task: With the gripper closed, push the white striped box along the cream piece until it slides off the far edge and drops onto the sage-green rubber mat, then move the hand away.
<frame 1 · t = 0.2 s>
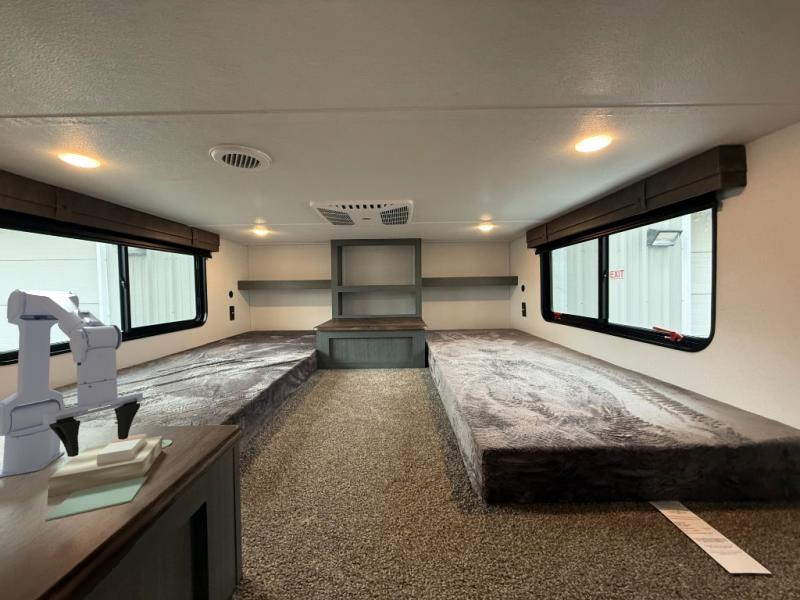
hand: (99, 446, 57), 10 cm above the cabinet, tool pointing down, fingers open, 7 cm apart
sign: (181, 441, 83), on the cabinet
mat: (102, 496, 57), on the cabinet
cream piece: (113, 470, 67), on the cabinet
white striped box: (123, 451, 68), point 4 cm above the cabinet, touching cream piece
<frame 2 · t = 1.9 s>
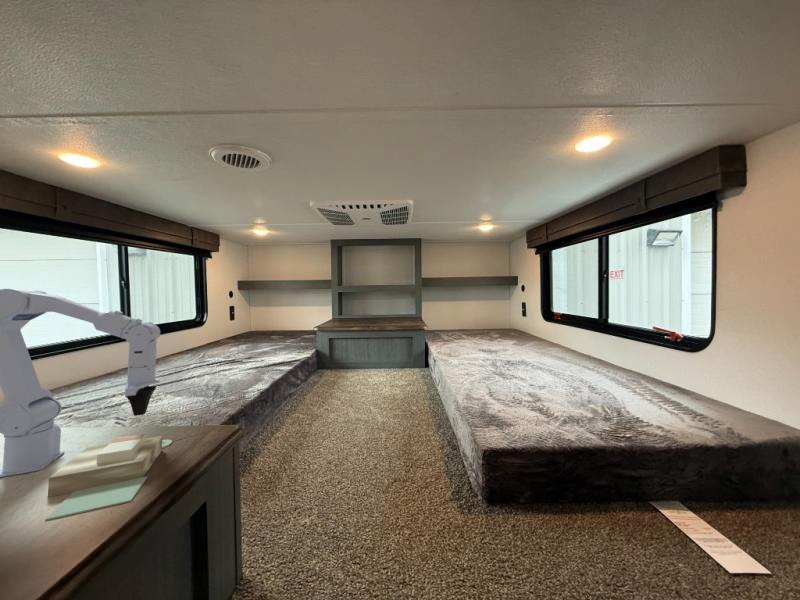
hand: (139, 414, 77), 10 cm above the cabinet, tool pointing down, fingers closed
nothing on the cabinet moved.
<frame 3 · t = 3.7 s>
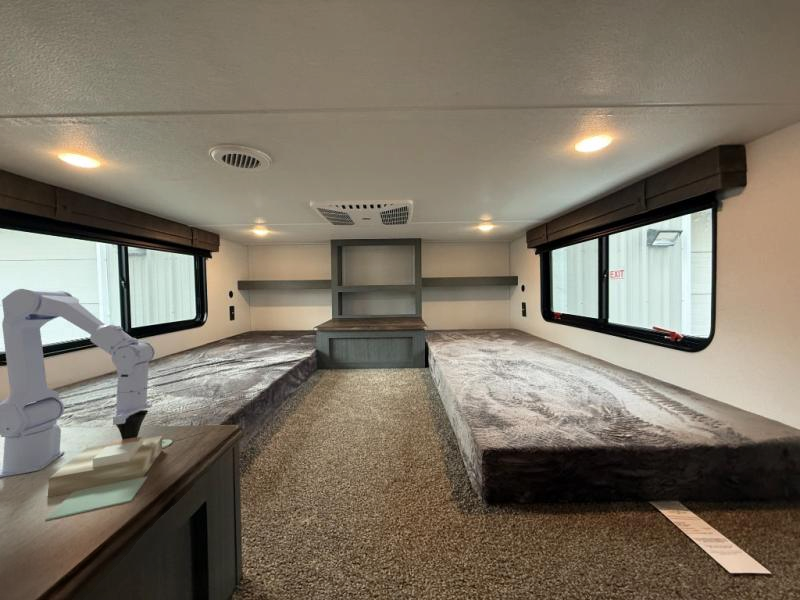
hand: (129, 442, 71), 5 cm above the cabinet, tool pointing down, fingers closed
white striped box: (120, 454, 66), point 4 cm above the cabinet, touching cream piece
everything else where it was.
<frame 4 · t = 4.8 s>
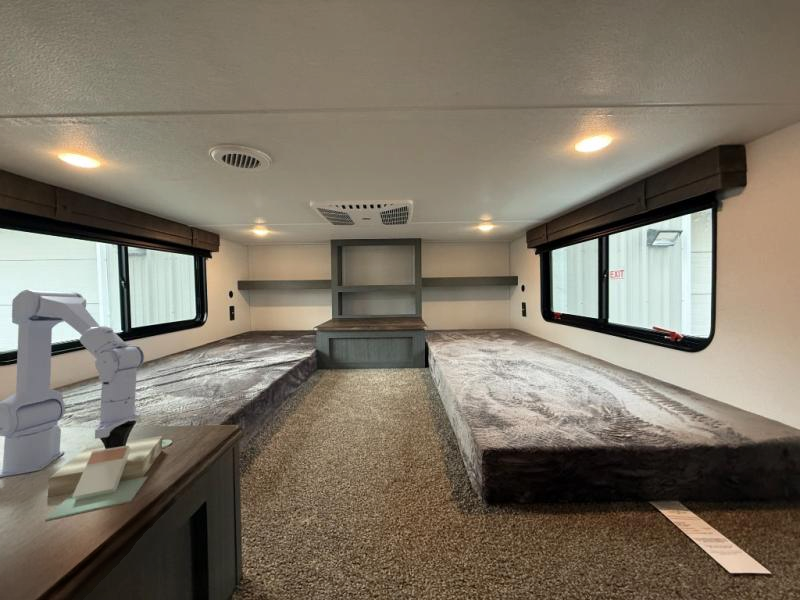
hand: (115, 456, 64), 5 cm above the cabinet, tool pointing down, fingers closed
white striped box: (105, 472, 60), point 3 cm above the cabinet, tilted 41°, touching gripper, mat
everything else where it was.
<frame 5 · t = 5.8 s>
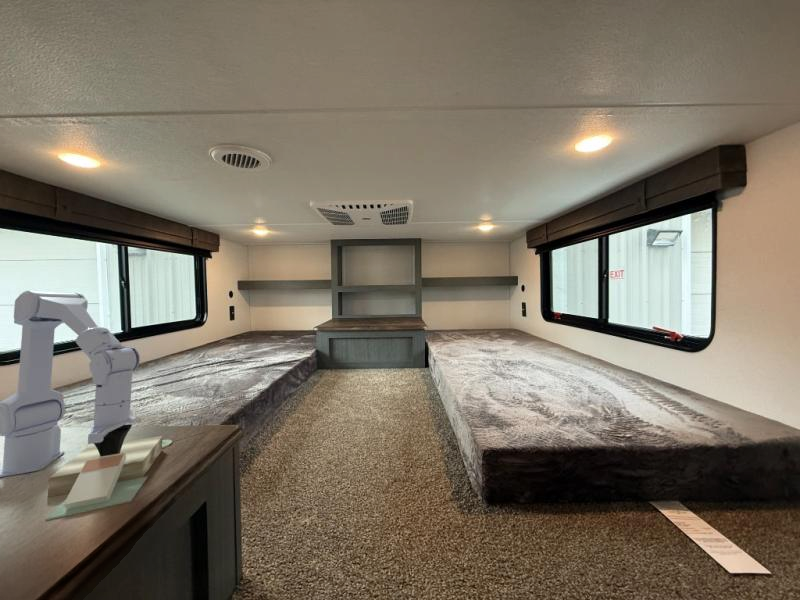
hand: (110, 461, 62), 5 cm above the cabinet, tool pointing down, fingers closed
white striped box: (99, 481, 58), point 3 cm above the cabinet, tilted 34°, touching gripper, mat
everything else where it was.
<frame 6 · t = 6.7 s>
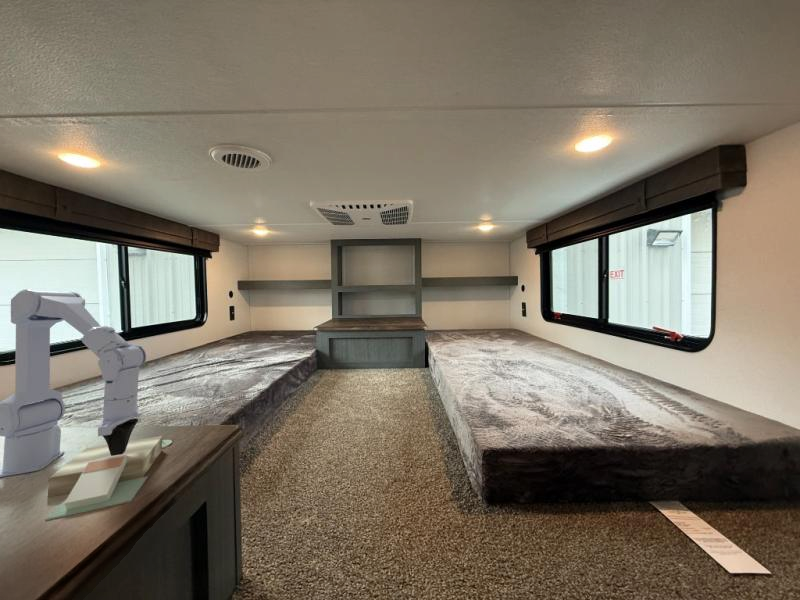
hand: (118, 453, 66), 5 cm above the cabinet, tool pointing down, fingers closed
white striped box: (99, 483, 58), point 2 cm above the cabinet, tilted 27°, touching cream piece, mat
everything else where it was.
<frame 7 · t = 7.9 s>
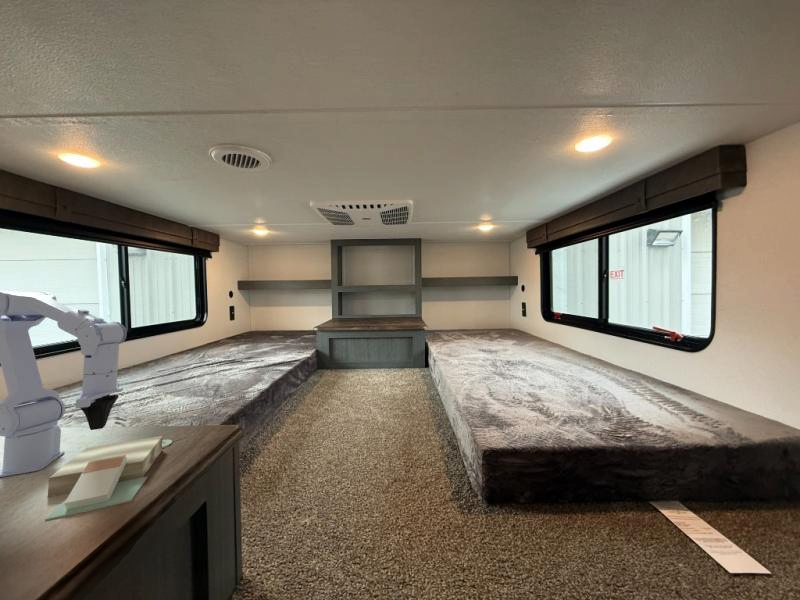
hand: (97, 428, 66), 10 cm above the cabinet, tool pointing down, fingers closed
nothing on the cabinet moved.
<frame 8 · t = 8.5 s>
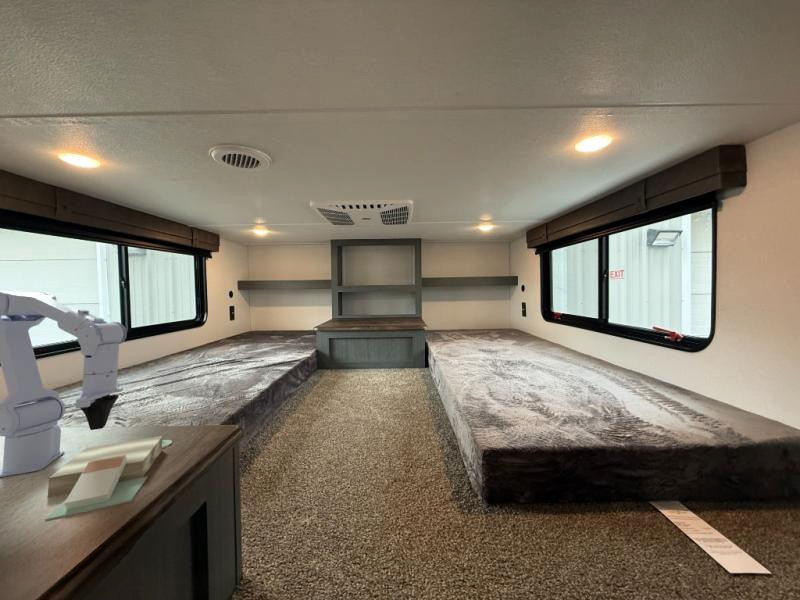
hand: (97, 428, 66), 10 cm above the cabinet, tool pointing down, fingers closed
nothing on the cabinet moved.
at the end: white striped box point 2.3 cm above the cabinet; white striped box inside the target area on the mat (1.8 cm from its centre), point 2.3 cm above the mat's base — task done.
